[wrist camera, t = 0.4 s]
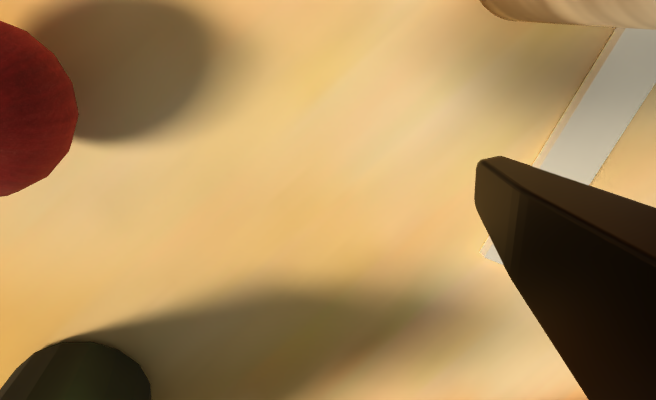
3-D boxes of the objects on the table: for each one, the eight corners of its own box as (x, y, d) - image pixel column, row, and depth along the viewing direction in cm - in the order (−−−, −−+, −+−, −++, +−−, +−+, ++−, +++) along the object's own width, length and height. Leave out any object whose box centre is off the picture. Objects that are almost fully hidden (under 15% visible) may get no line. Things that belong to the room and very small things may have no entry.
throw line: (523, 270, 27) (529, 275, 26) (479, 251, 26) (484, 257, 25) (713, -24, 23) (725, -25, 22) (668, -58, 22) (679, -60, 21)
